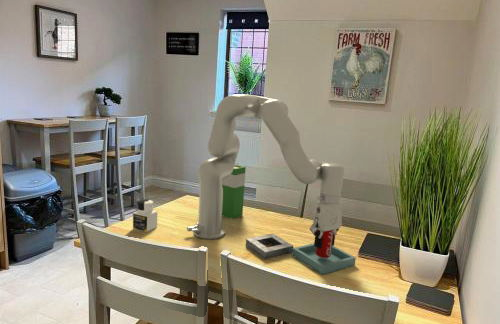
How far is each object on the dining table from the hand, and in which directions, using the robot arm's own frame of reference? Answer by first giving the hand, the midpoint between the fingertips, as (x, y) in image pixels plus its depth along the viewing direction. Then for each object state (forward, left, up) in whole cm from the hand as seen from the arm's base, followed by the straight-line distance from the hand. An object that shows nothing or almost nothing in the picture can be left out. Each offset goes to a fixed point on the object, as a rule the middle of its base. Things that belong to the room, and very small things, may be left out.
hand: (324, 245), depth 131 cm
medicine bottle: (-49, +55, -6) cm, 74 cm away
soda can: (0, 0, -4) cm, 4 cm away
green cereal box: (-9, +60, -6) cm, 61 cm away
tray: (0, 0, -6) cm, 6 cm away
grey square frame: (-13, +16, -6) cm, 21 cm away
